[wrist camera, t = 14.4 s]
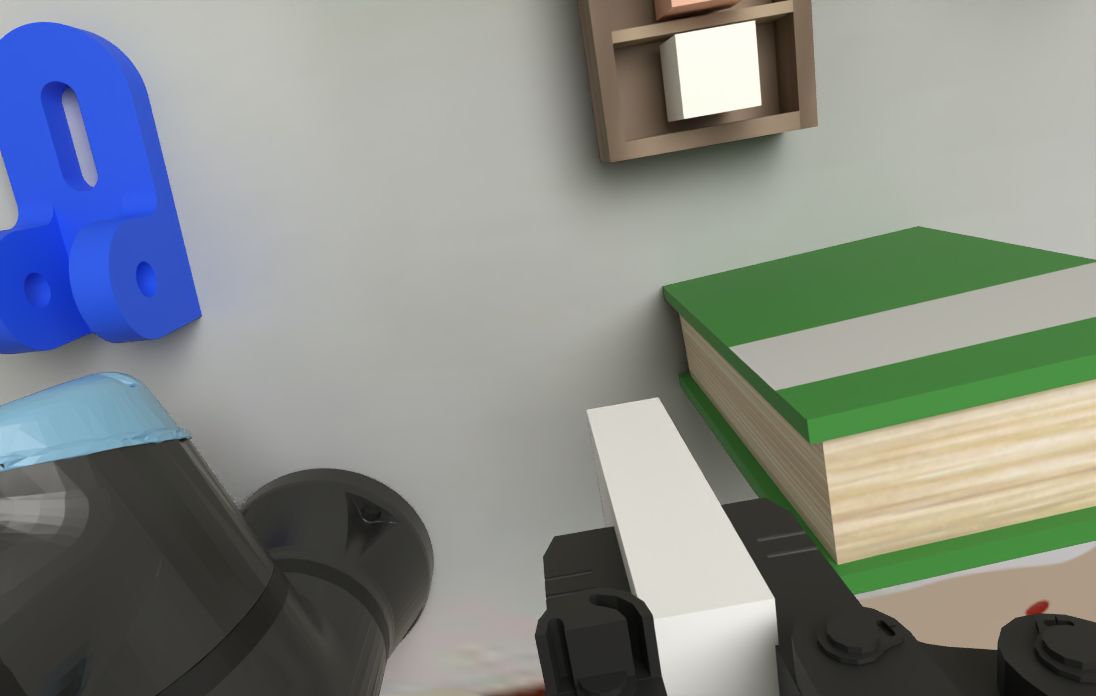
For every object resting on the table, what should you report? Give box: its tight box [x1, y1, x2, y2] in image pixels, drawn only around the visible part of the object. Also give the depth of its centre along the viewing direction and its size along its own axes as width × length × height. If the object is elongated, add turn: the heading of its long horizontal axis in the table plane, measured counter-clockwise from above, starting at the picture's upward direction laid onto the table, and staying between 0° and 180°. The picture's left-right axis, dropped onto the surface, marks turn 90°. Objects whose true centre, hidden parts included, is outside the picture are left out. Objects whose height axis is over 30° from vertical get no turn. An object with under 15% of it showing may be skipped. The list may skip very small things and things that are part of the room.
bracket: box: [0, 22, 202, 354], centre depth 39 cm, size 18×8×9 cm, turn 5°
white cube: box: [659, 21, 762, 122], centre depth 38 cm, size 4×4×4 cm
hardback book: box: [662, 226, 1096, 595], centre depth 36 cm, size 18×7×24 cm, turn 103°
